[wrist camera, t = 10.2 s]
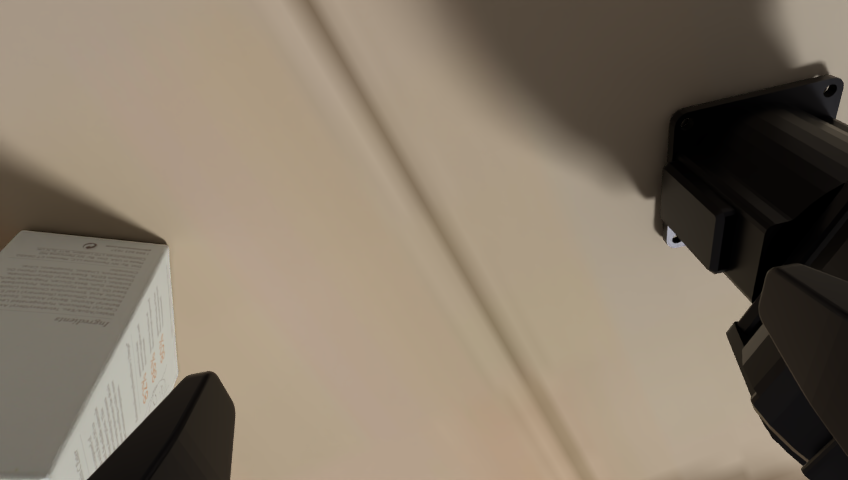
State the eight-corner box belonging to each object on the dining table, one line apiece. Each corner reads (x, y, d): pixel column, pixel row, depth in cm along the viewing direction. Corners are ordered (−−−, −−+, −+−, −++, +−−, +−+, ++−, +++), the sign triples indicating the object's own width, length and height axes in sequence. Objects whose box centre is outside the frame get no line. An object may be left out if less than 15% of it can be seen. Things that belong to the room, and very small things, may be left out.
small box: (22, 224, 21) (-229, 470, 12) (173, 241, 22) (46, 478, 13) (55, 366, 25) (-111, 624, 16) (181, 374, 26) (89, 620, 17)
